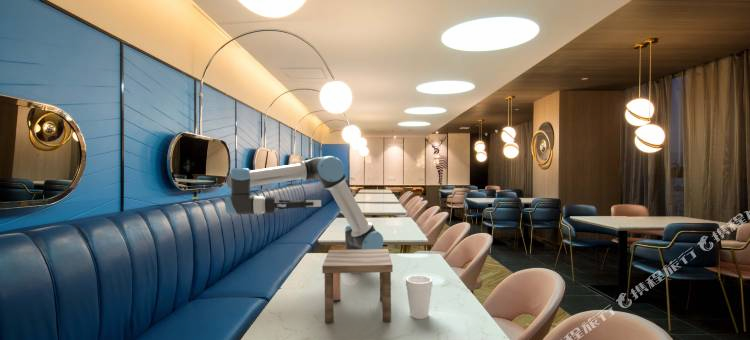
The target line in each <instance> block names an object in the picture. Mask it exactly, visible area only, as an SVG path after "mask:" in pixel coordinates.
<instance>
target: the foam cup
mask: <svg viewBox="0 0 750 340" xmlns="http://www.w3.org/2000/svg"><path fill="white" fill-rule="evenodd" d="M405 286H406V291H407V293H406V294H407V299H408V300H407V301H408V307H409V314H410V316H411V318H414V319H418V320H424V319H426V318H428V317H429V312H430V303H431V296H432V288H433V279H432V278H431V277H429V276H426V275H422V274H421V275H410V276H406V278H405Z"/></svg>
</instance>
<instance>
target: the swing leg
mask: <svg viewBox="0 0 750 340" xmlns="http://www.w3.org/2000/svg"><path fill="white" fill-rule="evenodd" d="M333 300H340V301H341V273H333Z"/></svg>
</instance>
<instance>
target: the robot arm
mask: <svg viewBox="0 0 750 340" xmlns="http://www.w3.org/2000/svg"><path fill="white" fill-rule="evenodd" d="M297 180H303V181H312V180H313V181H320V183H321V184H322V186H323V188H324V189H325V190H328V191H329V192H330V193H331V196H332V197H333V198H334V201H335V202H336V204H337V206H338V208H339V209H340V211H341V213H342V215H343V216H344V218H345V220H346V221H347V223H348V224H347V225H346V226H345V229H344V237H345V238H344V239H345V240H344V242H345V244H344V245H345V249H344V250H353V249H383V245H384V237H383V234H381V232H379V231H377V230H376V228H375V226H374V225H373V223H372V222H370V221H368V220H367V218H366V217H365V215H364V213H363V211H362V209H361V207H360V205H359V203H358V202H357V200H356V198H355V197H354V195H353V193H352V191H351V189H350V188H349V186H348V184H347V181H346V180H347V176H346V173H345V165H344V163H343V161H342V160H341V159H340V158H338V157H336V156H333V155H326V156H317V157H314V158H311V159H307V160H301V161H300V162H299V163H295V164H287V165H279V166H273V167H272V166H271V167H266V168H265V167H264V168H258V169H253V170H252V169H250V168H247V167H246V168H245V167H242V168H241V167H240V168H236V167H235V168H231V170H230V173H229V175H227V177H226V181H225V182H226V185H227V187H228V188H230V190H231V191H230V196H227V197H226V199H225V203H224V204H225V205H224V207H225V208H224V209H225V212H226V213H227V214H228V215H233V216H234V215H239V216H240V215H242V216H243V215H256V216H259V215H261V214H267V215H268V214H269V215H270V214H275V212H276V209H278V210H284V209H287V210H288V209H289V210H290V209H298V208H304V209H307V208H311V207H312V208H316V207H319V208H320V207H322V199H314V200H313V199H311V200H310V199H307V200H306V198H304V199H301V200H300V199H298V200H295V199H293V200H291V199H279V200H277V201H276V197H275V196H274V195H266V196H264V195H252V196H251V187H259V186H265V185H271V184H276V183H284V182H290V181H297Z"/></svg>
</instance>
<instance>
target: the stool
mask: <svg viewBox="0 0 750 340" xmlns="http://www.w3.org/2000/svg"><path fill="white" fill-rule="evenodd" d="M321 267H322V270H321V271H322V274H324V323H325V324H328V325H330V324H333V323H334V322H335V321H334V318H335V315H334V314H335V312H334V310H335V309H334V308H335V307H334V303H339V302H340V301H341V299H340V300H333V273H340V274H357V273H358V274H359V273H360V274H361V273H362V274H365V273H371V274H372V273H379V300H380V301H381V303H382V304H381V305H382V310H381V311H382V313H381V314H382V316H381V318H382V320H381V321H382V322H383V323H391V322H392V288H391V287H392V283H391V282H392V274H391V273H393V269H394V268H393V262H392V259H391V255H390V251H389V249H388V248H381V249H353V250H346V249H328V252H327V254H326V256H325V259H324V261H323V263H322V266H321Z"/></svg>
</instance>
